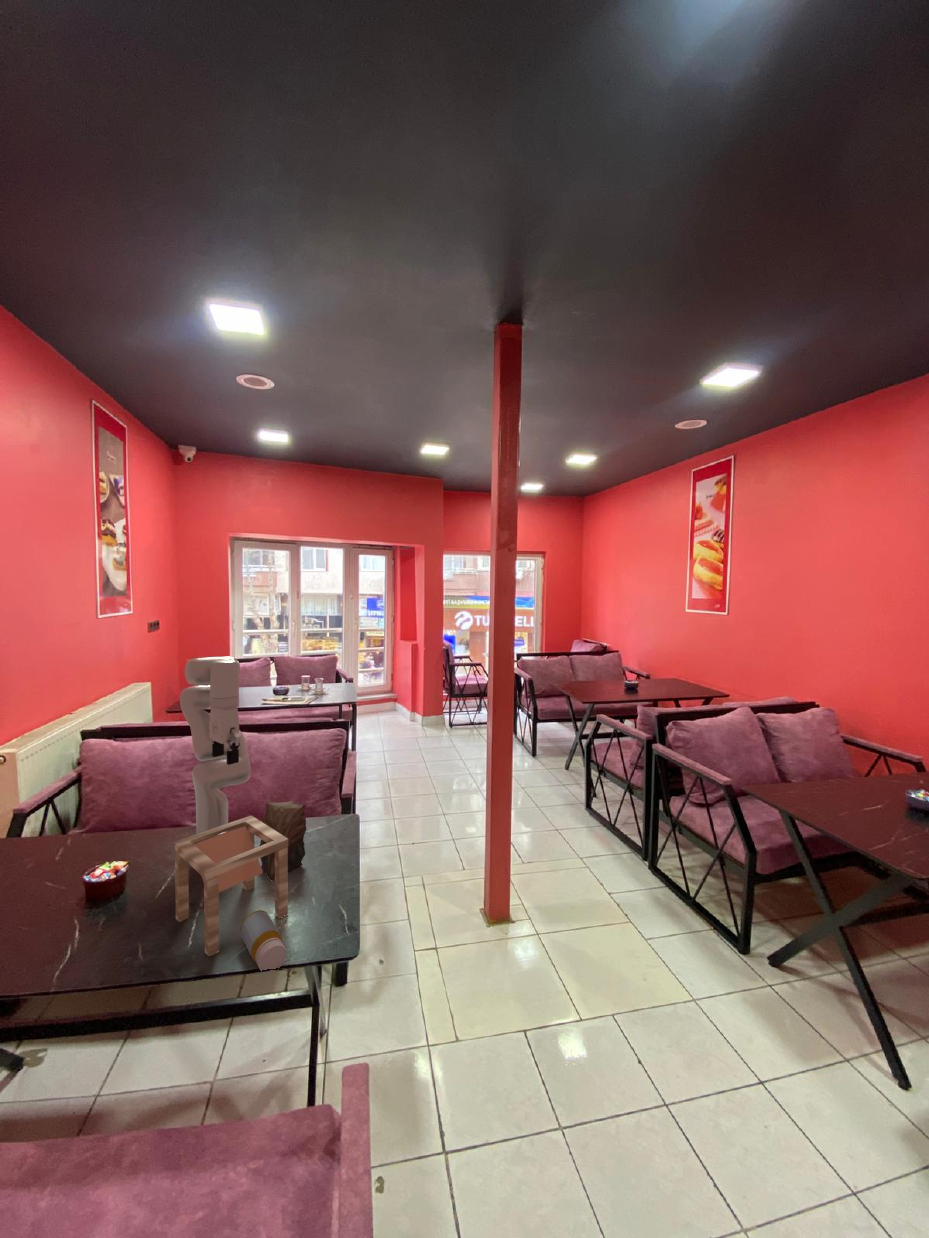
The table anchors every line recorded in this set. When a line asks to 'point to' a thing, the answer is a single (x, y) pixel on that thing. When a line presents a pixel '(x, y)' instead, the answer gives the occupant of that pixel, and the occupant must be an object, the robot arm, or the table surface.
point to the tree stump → (285, 833)
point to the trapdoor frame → (211, 870)
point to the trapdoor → (230, 855)
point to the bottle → (263, 941)
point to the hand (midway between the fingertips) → (225, 759)
